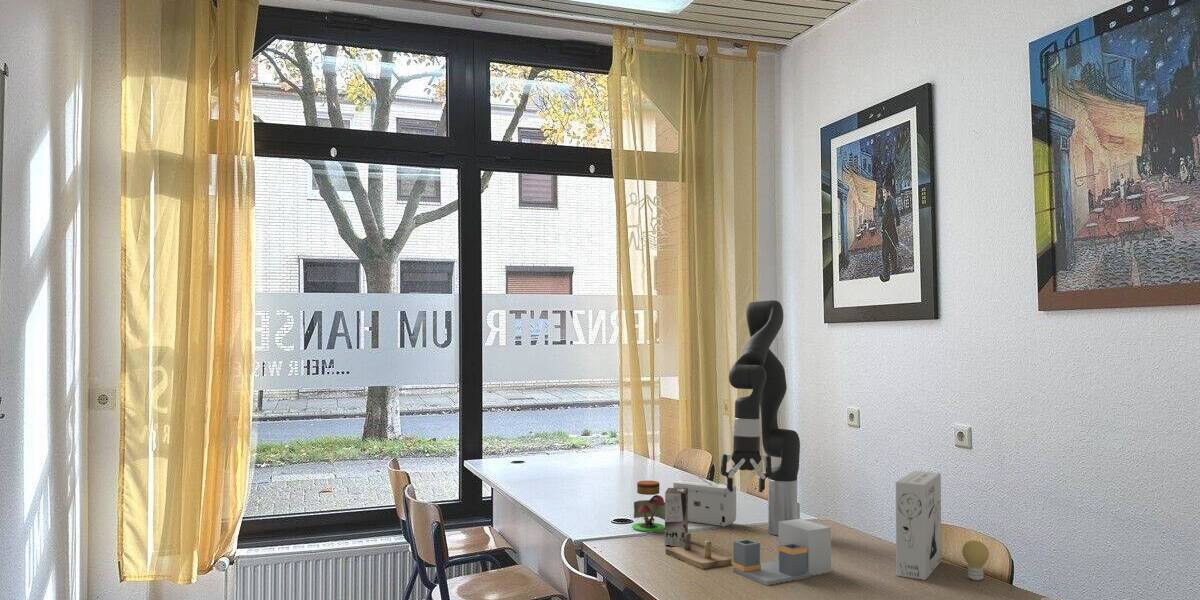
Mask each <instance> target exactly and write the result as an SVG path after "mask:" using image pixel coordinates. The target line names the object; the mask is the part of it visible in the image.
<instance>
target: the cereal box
mask: <svg viewBox="0 0 1200 600" xmlns="http://www.w3.org/2000/svg"><path fill="white" fill-rule="evenodd" d="M895 556H896V557H895V570H896V571H895V574H896V576H897V577H901V576H902V578H907V577H908V579H914V578H915V579H914V580H920V579H921V581H926V580H927V578H929V576H930V575H931V574H932V573H933V572H934V571H933V570H935V569H936V568H937V567H938V566H939V565H940V564H941V562H942V475H941V473H940V472H934V471H933V472H931V471H923V470H913V471H911V472H910V473H907V475H905V476H903V477H902V478H899V479H898V480H897V481H896V482H895Z"/></svg>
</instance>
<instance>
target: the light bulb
mask: <svg viewBox="0 0 1200 600" xmlns="http://www.w3.org/2000/svg"><path fill="white" fill-rule="evenodd" d="M961 552H962V556H963V558H964V560H965V562H966V563H967V564H968V566H967V573H968V574H967V577H968V579H970V580H973V581H982V580H983V579H984V567H983V566H984V565H985V564H986V563H987V561H988V559H989V556H990V552H989V549H988V547H987V546H986V544H985V543H983V542H981V541H979V540H968V541H966V542H965V543H964V544H963V546H962V549H961Z"/></svg>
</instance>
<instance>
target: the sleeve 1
mask: <svg viewBox="0 0 1200 600" xmlns="http://www.w3.org/2000/svg"><path fill="white" fill-rule="evenodd" d="M732 544H733V549H732V550H733V554H732V555H733V561H731V565H732V568H737V569H739V570H742V571H744V572H747V571H753V570H759V569H761V564H760V563H761V543H760V542H757V541H755V540H752V539H749V538H745V539H739V540H738V539H737V540H733V543H732Z"/></svg>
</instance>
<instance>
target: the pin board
mask: <svg viewBox="0 0 1200 600" xmlns="http://www.w3.org/2000/svg"><path fill="white" fill-rule="evenodd" d="M691 536H692V535H691V533H689V532H688V533H685V534H684V546H671V547H666V548H665V554H666V553H667V554H669V555H668V556H670V555H672V556H674V557H673V558H675V557H676V558H675V559H677V558H678V560H679V559H680V561H682V560H683V561H682V562H684V561H685V562H684V563H686V562H687V563H686V564H689V563H690V564H689V565H691V564H692V566H694V567H696V568H698V567H699V568H698V569H701V570H705V569H711V568H716V567H717V568H718V567H723V566H729V565H732V558H730V557H728V556H725V555H722V554H720V553H717V552H715V551H712V541H711V540H705V541H704V547H702V546H700V545H698V544H694V543H693V544H691V539H692V538H691ZM667 554H666V555H667ZM672 556H671V557H672ZM704 568H705V569H704Z"/></svg>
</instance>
